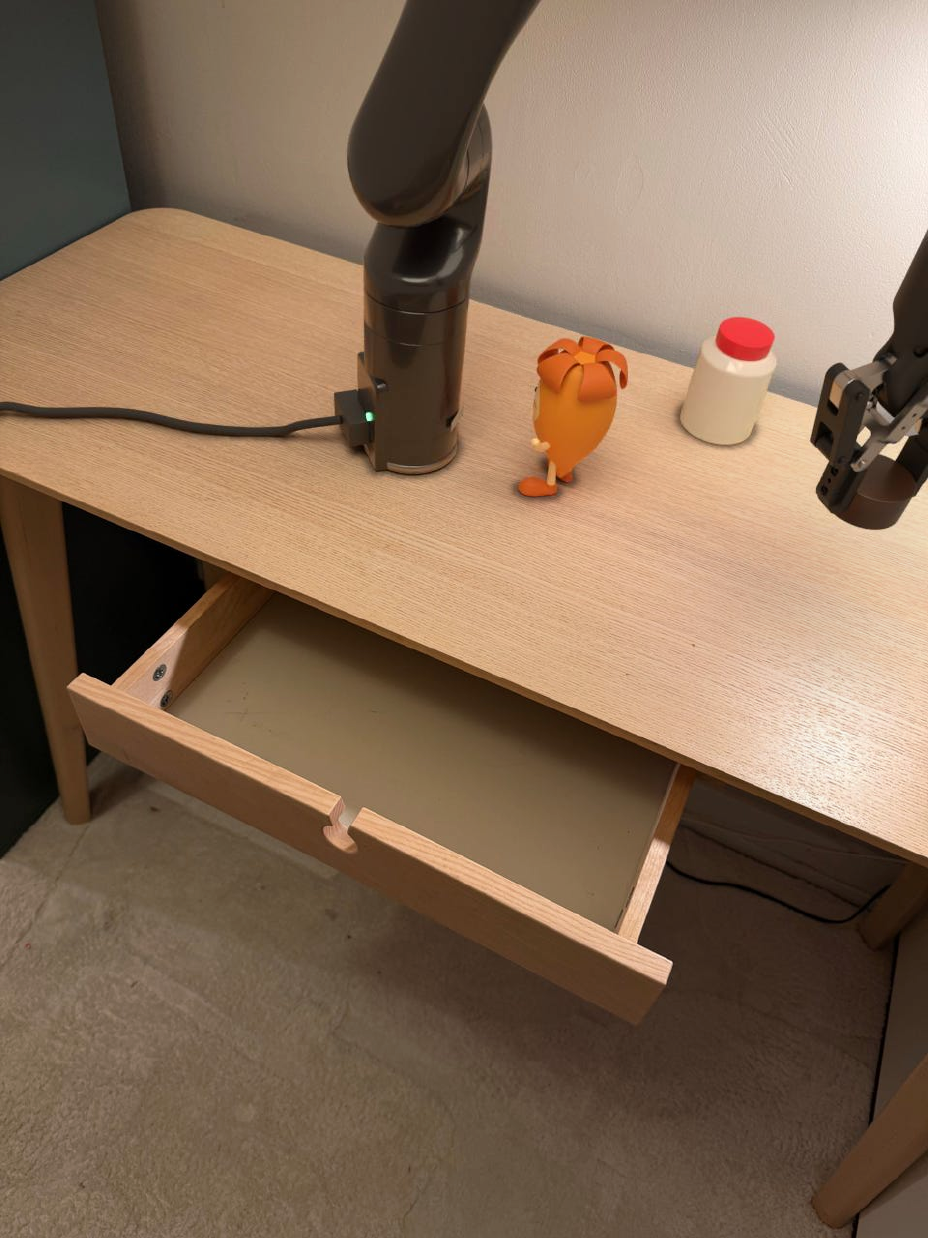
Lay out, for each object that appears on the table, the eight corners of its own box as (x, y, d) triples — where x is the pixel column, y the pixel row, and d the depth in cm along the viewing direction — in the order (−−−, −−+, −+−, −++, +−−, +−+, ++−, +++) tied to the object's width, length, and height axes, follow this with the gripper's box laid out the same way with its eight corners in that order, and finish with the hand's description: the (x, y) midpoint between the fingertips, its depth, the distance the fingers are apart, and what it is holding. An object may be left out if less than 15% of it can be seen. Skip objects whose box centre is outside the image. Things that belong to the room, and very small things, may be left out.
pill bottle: (761, 419, 99) (797, 328, 91) (736, 454, 95) (771, 362, 86) (696, 392, 101) (725, 302, 93) (668, 426, 97) (696, 334, 89)
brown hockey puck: (852, 536, 57) (868, 508, 56) (807, 485, 60) (821, 457, 58) (915, 522, 59) (933, 494, 57) (868, 473, 62) (883, 445, 60)
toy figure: (558, 441, 94) (584, 308, 82) (624, 475, 91) (660, 342, 80) (491, 498, 87) (509, 362, 76) (560, 537, 84) (590, 402, 73)
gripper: (1055, 202, 51) (914, 445, 63) (845, 222, 46) (740, 478, 59) (1163, 270, 46) (987, 516, 59) (941, 299, 42) (805, 557, 55)
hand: (864, 496), depth 59 cm, fingers closed on brown hockey puck, 5 cm apart
